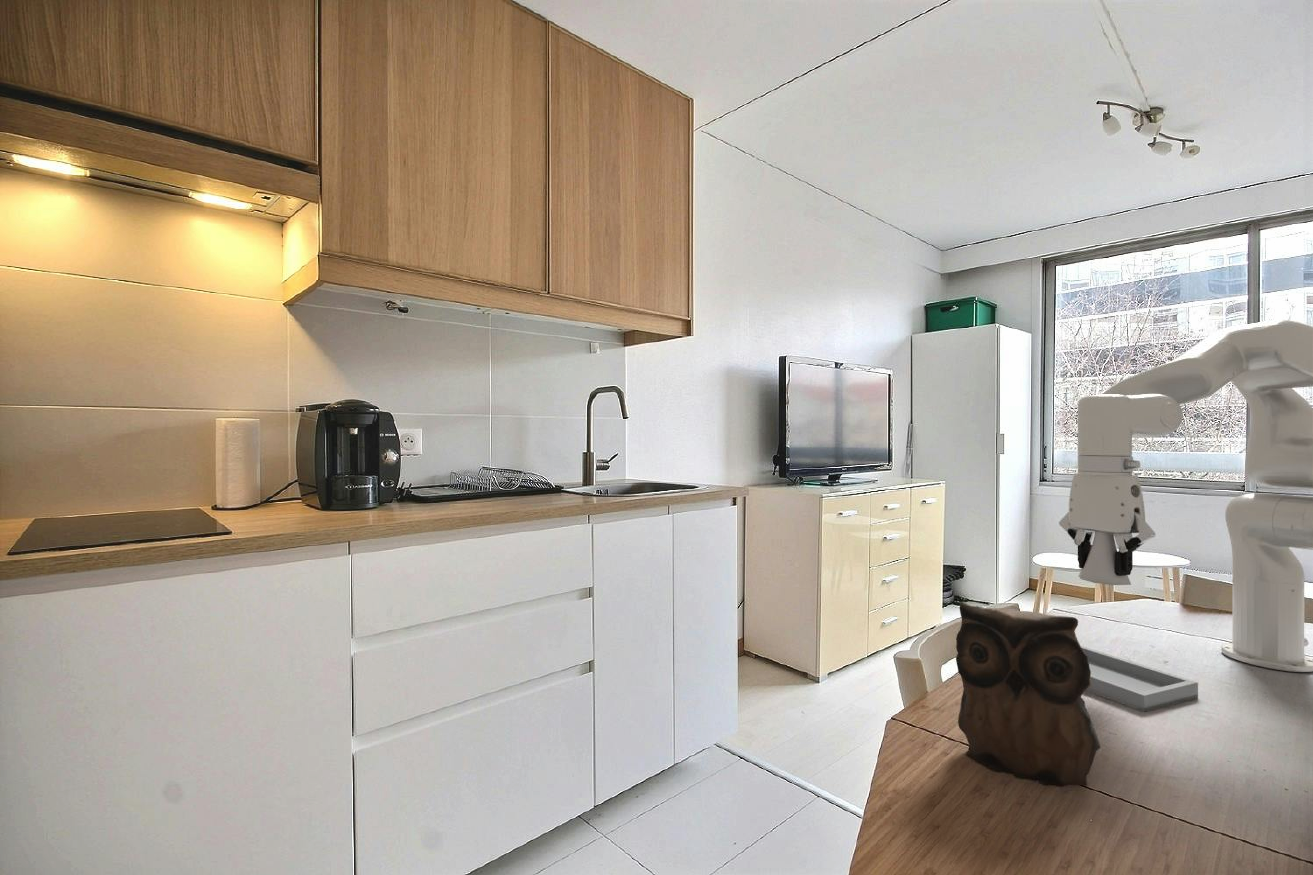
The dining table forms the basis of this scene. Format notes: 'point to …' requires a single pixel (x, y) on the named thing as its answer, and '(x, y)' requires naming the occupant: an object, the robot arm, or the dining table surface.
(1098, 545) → the flask
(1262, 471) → the robot arm
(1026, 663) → the owl
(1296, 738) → the dining table surface
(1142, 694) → the tray
